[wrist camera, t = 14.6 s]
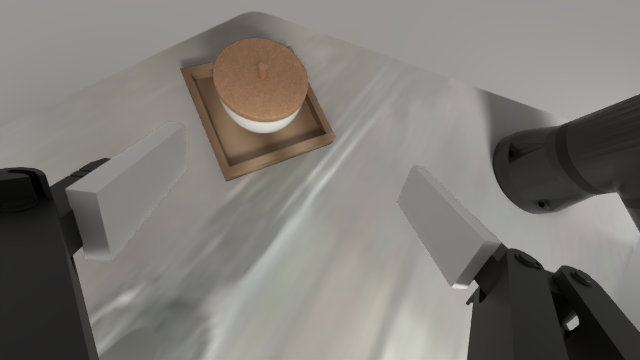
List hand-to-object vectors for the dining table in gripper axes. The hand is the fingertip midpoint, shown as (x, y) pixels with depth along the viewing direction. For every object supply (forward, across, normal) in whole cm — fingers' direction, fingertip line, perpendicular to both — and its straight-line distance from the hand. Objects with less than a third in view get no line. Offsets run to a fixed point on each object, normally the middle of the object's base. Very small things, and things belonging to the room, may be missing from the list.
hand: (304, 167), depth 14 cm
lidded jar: (+24, -5, -4) cm, 25 cm away
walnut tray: (+24, -5, -4) cm, 25 cm away
